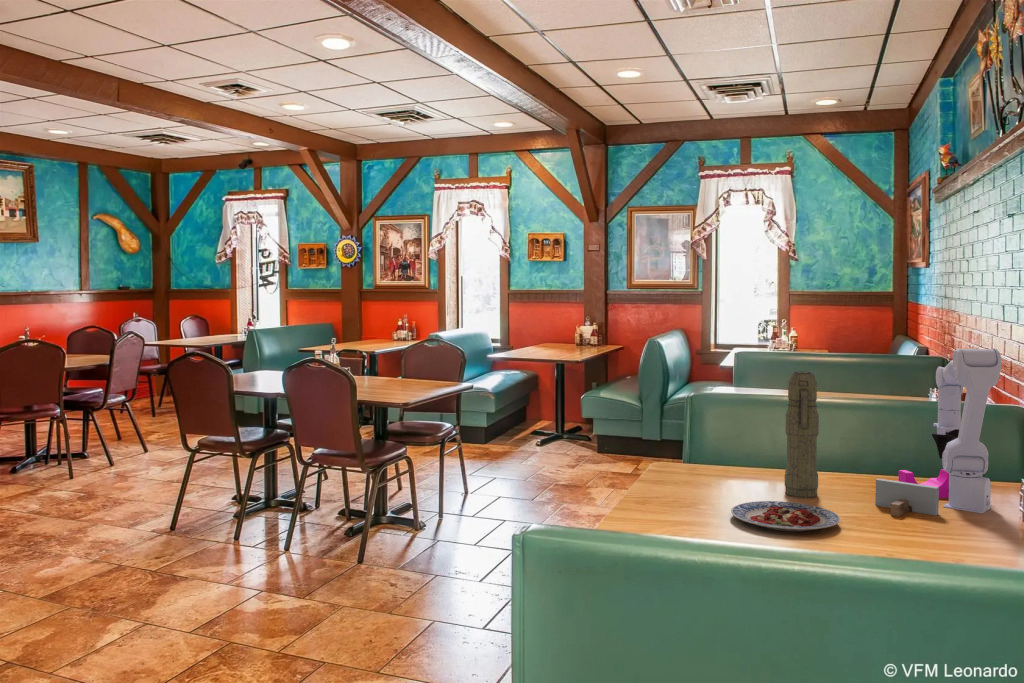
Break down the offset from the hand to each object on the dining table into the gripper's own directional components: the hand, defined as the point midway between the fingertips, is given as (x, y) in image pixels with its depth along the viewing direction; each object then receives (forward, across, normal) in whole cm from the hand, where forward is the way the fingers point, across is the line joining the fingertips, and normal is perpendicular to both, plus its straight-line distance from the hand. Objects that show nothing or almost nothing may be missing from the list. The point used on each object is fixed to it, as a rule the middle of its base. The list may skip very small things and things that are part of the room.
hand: (948, 456), depth 228 cm
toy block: (+11, +8, -4) cm, 14 cm away
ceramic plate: (+11, +60, -20) cm, 64 cm away
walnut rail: (+10, +28, -2) cm, 30 cm away
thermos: (+11, +31, -29) cm, 44 cm away
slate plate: (+10, +28, -2) cm, 30 cm away
